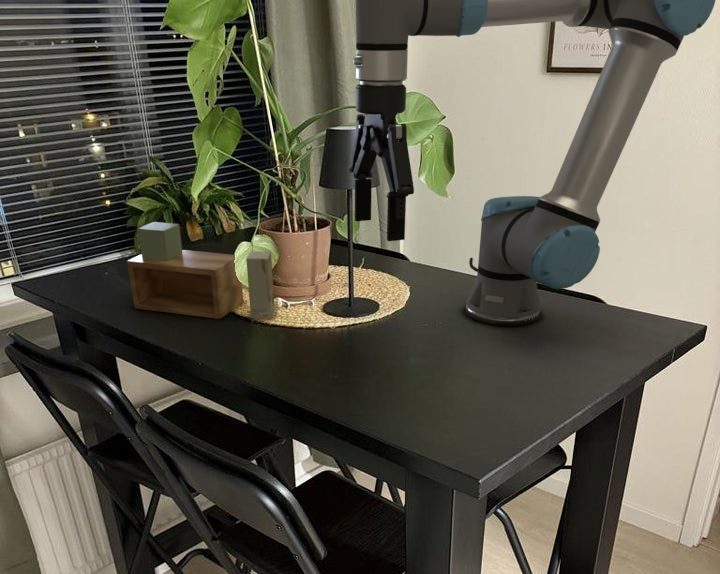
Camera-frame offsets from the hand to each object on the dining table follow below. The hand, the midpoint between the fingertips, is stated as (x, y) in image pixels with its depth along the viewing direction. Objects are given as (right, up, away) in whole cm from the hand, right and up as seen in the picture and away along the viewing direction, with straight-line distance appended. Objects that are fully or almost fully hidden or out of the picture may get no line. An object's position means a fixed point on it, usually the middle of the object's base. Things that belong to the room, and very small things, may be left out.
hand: (378, 230), depth 123 cm
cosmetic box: (-23, -7, +33) cm, 41 cm away
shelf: (-39, -4, +38) cm, 54 cm away
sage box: (-44, +6, +33) cm, 56 cm away
